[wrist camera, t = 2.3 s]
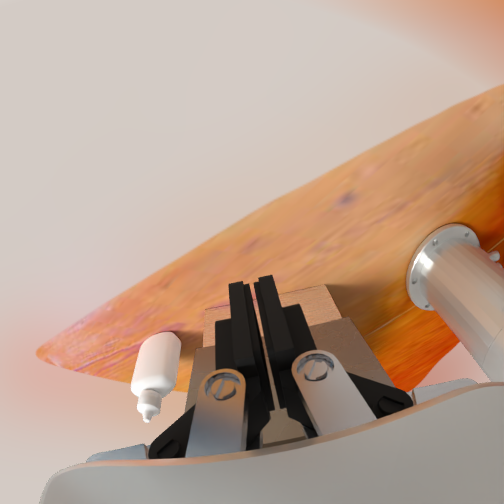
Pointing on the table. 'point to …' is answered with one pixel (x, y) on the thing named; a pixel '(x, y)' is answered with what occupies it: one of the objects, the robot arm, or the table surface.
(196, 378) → the lid
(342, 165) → the table surface
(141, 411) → the eye dropper bottle
